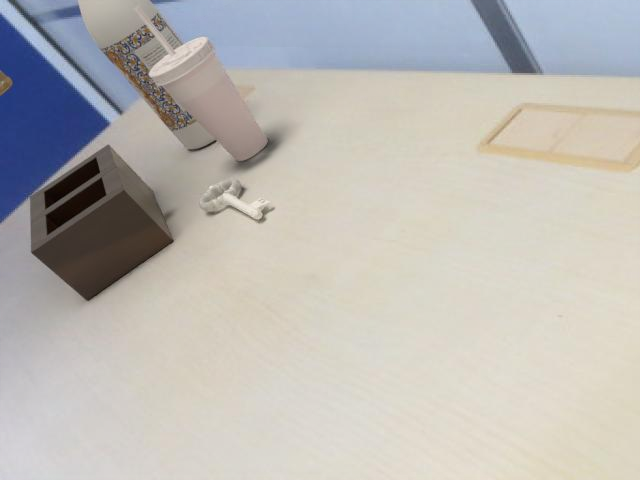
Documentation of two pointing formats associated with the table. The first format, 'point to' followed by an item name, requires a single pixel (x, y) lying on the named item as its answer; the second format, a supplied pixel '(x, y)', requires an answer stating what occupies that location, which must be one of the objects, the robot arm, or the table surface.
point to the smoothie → (207, 93)
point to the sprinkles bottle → (4, 83)
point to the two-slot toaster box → (96, 223)
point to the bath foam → (141, 58)
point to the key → (230, 199)
